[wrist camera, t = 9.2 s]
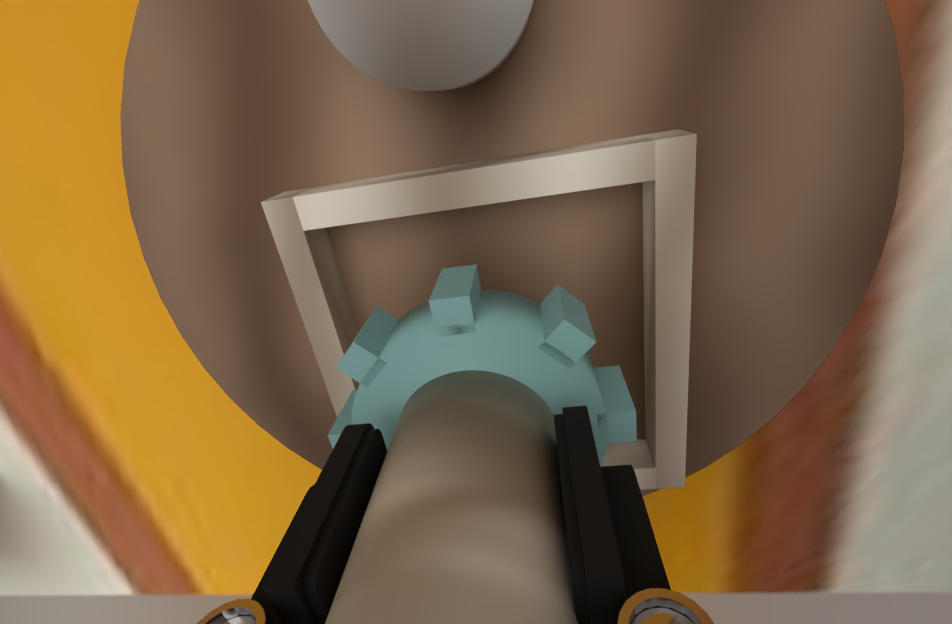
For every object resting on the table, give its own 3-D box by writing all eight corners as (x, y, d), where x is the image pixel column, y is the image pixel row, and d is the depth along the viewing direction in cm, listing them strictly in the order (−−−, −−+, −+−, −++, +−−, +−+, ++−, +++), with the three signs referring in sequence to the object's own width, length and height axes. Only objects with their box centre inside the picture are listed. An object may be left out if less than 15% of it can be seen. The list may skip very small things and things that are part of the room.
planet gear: (614, 246, 11) (863, 648, 3) (624, 482, 14) (758, 983, 6) (317, 284, 12) (-65, 655, 4) (387, 496, 16) (245, 938, 7)
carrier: (966, -380, 10) (1282, -715, 6) (809, 478, 20) (883, 578, 16) (13, -102, 13) (-209, -186, 9) (287, 503, 23) (237, 590, 19)
